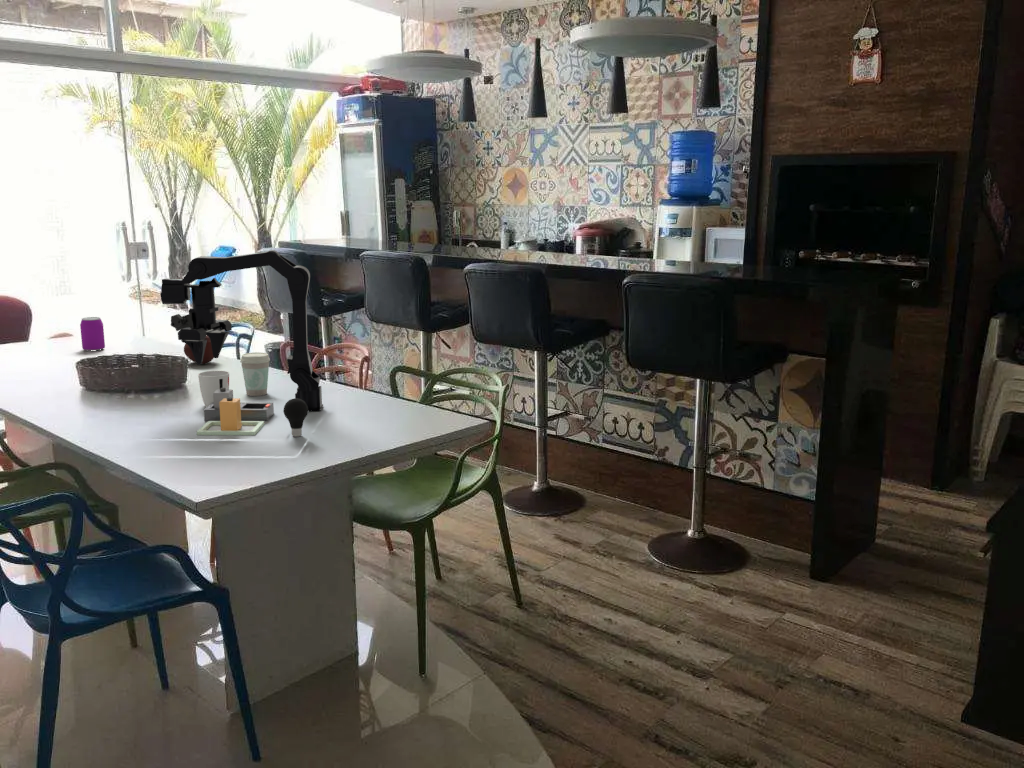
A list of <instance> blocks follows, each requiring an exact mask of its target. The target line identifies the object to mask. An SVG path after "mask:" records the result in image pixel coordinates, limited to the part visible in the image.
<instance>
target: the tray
mask: <svg viewBox="0 0 1024 768" xmlns="http://www.w3.org/2000/svg"><path fill="white" fill-rule="evenodd" d="M264 425H265V421H241V426H254V427H253V428H252V429H251V430H239V431H221V430H209V428H210V427H212V426H221V422H220V421H206V423H204V424H203V425H202V426H201V427H200V428H199V429H197V430H196V435H197V436H256V434H257V433H259V431H260V430H261V428H262V427H264Z"/></svg>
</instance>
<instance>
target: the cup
mask: <svg viewBox="0 0 1024 768" xmlns="http://www.w3.org/2000/svg"><path fill="white" fill-rule="evenodd" d="M197 376H198V383H199V384H198V385H199V389H200V394H201V398H202V401H203V404H204V406H205V408H206V407H208V406H209V405H210V404H211V403H213V402H214V400H213V393H214V392H215V391H216V390H217V389H220V388H226V390H230V372H229V371H226V370H207V371H202V372H199V373H198V375H197Z"/></svg>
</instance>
